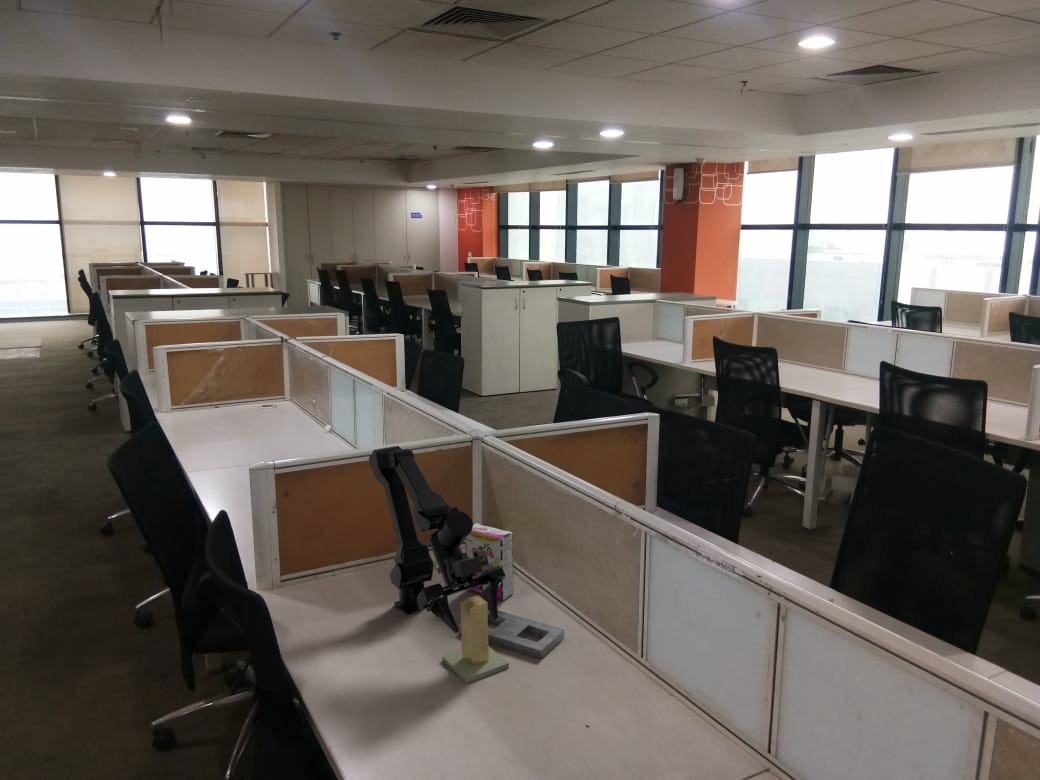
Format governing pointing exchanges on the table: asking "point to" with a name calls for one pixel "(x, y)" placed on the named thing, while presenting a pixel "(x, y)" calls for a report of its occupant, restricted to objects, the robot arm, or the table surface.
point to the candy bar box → (493, 554)
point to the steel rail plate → (523, 634)
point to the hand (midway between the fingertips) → (477, 626)
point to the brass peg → (474, 630)
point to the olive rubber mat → (477, 671)
